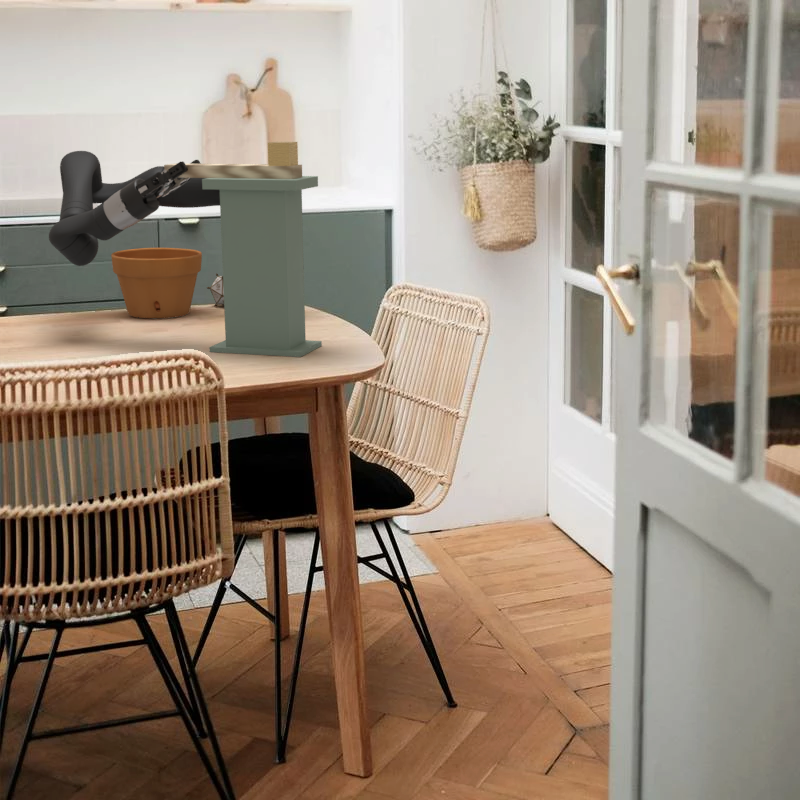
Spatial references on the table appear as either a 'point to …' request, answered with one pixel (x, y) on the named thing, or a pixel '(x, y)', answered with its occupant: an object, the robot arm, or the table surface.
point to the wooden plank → (240, 171)
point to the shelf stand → (263, 265)
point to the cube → (282, 153)
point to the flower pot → (157, 280)
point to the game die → (217, 290)
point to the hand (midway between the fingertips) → (192, 164)
